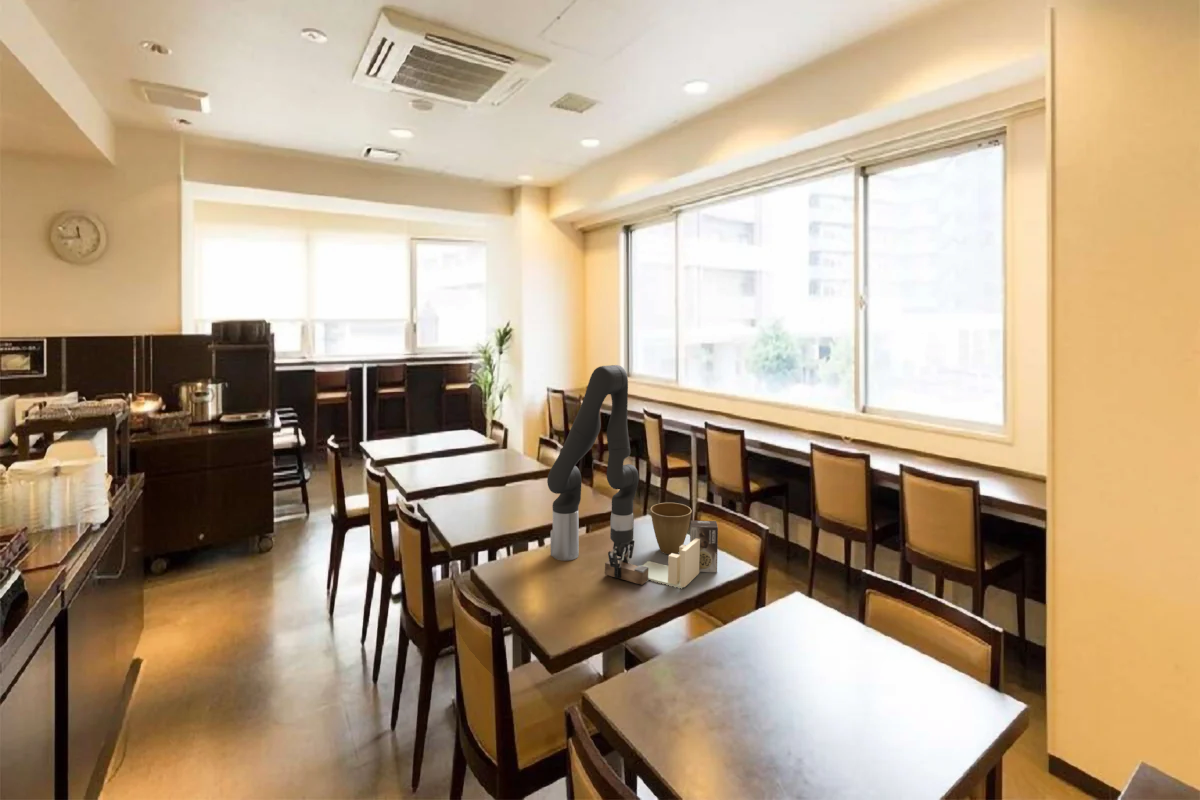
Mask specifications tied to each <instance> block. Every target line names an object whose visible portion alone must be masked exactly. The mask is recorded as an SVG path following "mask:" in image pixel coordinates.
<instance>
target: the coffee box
mask: <svg viewBox="0 0 1200 800" xmlns="http://www.w3.org/2000/svg"><path fill="white" fill-rule="evenodd" d="M689 526H690V528H689V529H690V531H689V532H690V533H689V543H690V542H692V541H693V540H694V539H695V538H698V539H700V558H699V573H718V547H719V545H718V543H719V541H718V540H719V539H718V537H719V526H718V523H717V521H716V520H690V523H689Z"/></svg>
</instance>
